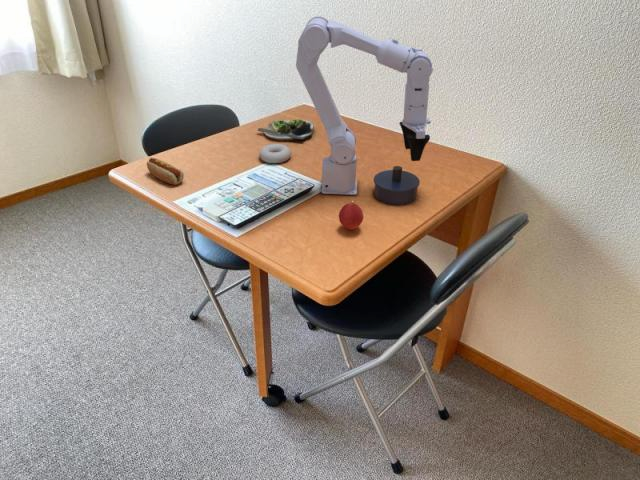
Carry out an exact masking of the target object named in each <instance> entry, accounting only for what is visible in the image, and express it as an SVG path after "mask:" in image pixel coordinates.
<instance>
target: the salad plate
mask: <svg viewBox="0 0 640 480" xmlns="http://www.w3.org/2000/svg"><path fill="white" fill-rule="evenodd" d="M314 127H315V126H314V124H313V122H311V121H309V120H304V119H293V120H292V119H291V120H285V119H283V120H282V119H278V120H273V121H271V122H269V123H268V124H267V126H266V128H262V127H257V129H256V131H257V132H260V133H263V134H264V135H265V136H267V137H269V138H270V139H272V140H275V141H285V142H286V141H287V142H288V141H289V142H302V141H306V140H310V139H311V137H312V136H313V134H314Z"/></svg>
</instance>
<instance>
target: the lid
mask: <svg viewBox="0 0 640 480" xmlns="http://www.w3.org/2000/svg"><path fill="white" fill-rule="evenodd" d="M373 183H374V186H375V185H376V186H378V187H379V188H381V189H383V190H386V191H391V192H408V191H412V190H414V189H416V188H417V189H418V187H419V186H420V179H419V177H418V176H417V175H415V174H414V173H413V172H410V171H406V170H403V167H402V166H401V165H394V166H392V169H387V170H382V171H379V172H378V173H376V174H375V175H374V176H373Z"/></svg>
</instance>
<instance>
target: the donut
mask: <svg viewBox="0 0 640 480" xmlns="http://www.w3.org/2000/svg"><path fill="white" fill-rule="evenodd" d="M258 156H259V159H260V160H261V161H263V162H265V163H267V164H281V163H285V162H286V161H288V160H289V159H290V158H291V156H292V151H291V148H290V147H289V146H287V145H285V144H281V143H270V144H266V145H264V146H262V147H261V148H260V150H259V152H258Z"/></svg>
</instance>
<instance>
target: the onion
mask: <svg viewBox="0 0 640 480" xmlns="http://www.w3.org/2000/svg"><path fill="white" fill-rule="evenodd" d="M338 220H339V223H340V224H341V226H342V227H344V228H346V229H348V230H349V231H353V230H355V229H357V228H358V227H359V226H361V224H362V223H363V221H364V212H363V209H362V208H361V207H360V206H359V205H358V204H356V203H355V201H354V200H350V201H349V202H347V203H346V204H344V205H343V206H342V207H341V208H340V209H339V211H338Z"/></svg>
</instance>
